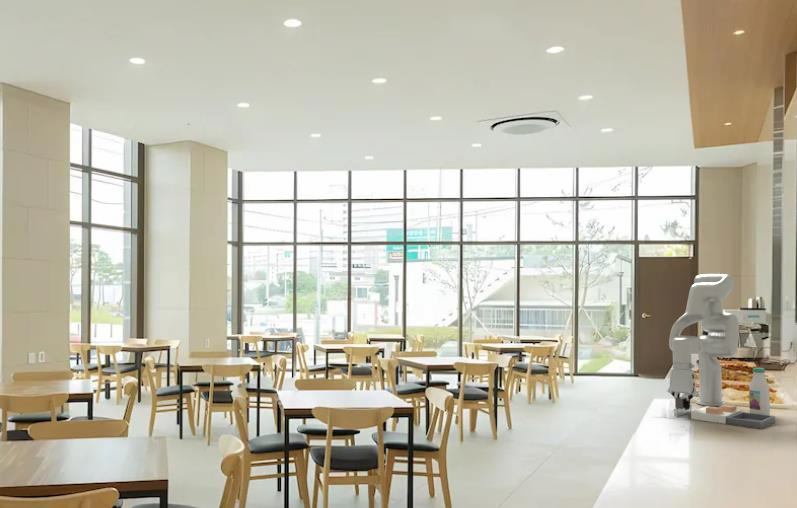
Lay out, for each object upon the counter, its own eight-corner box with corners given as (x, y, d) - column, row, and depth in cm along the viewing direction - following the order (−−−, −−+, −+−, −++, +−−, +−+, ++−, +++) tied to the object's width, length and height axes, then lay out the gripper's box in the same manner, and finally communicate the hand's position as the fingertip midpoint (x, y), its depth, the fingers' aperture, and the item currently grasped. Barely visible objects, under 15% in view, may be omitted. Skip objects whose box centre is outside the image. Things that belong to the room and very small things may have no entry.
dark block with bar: (686, 410, 317) (686, 394, 317) (693, 411, 315) (693, 395, 315) (671, 415, 306) (671, 399, 307) (678, 416, 304) (678, 400, 304)
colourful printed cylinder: (765, 413, 310) (764, 366, 310) (772, 417, 302) (772, 369, 303) (746, 413, 311) (745, 366, 311) (753, 416, 303) (752, 369, 303)
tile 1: (710, 411, 301) (710, 406, 301) (722, 412, 297) (722, 407, 297) (705, 412, 297) (705, 408, 297) (718, 414, 294) (718, 409, 294)
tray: (741, 417, 301) (741, 411, 301) (774, 422, 292) (774, 416, 292) (726, 423, 290) (726, 417, 290) (761, 428, 281) (760, 422, 281)
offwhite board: (706, 413, 311) (706, 406, 311) (740, 417, 301) (740, 410, 301) (691, 418, 300) (691, 411, 300) (725, 423, 290) (725, 416, 290)
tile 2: (724, 409, 305) (724, 404, 305) (736, 410, 301) (736, 405, 301) (719, 410, 301) (719, 406, 301) (731, 412, 298) (731, 407, 298)
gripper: (704, 367, 308) (705, 410, 308) (667, 363, 320) (668, 405, 319) (697, 369, 303) (698, 412, 302) (660, 365, 314) (660, 407, 314)
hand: (682, 408), depth 311 cm, fingers closed on dark block with bar, 3 cm apart
